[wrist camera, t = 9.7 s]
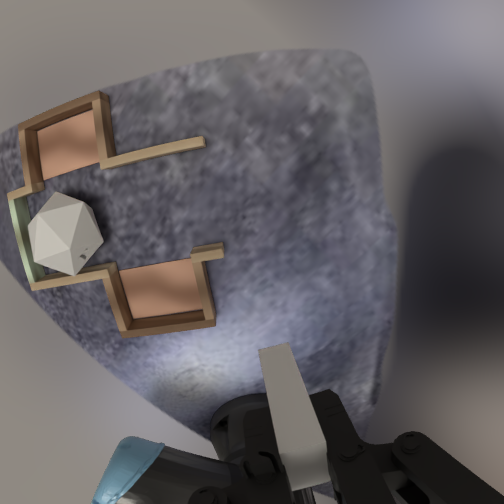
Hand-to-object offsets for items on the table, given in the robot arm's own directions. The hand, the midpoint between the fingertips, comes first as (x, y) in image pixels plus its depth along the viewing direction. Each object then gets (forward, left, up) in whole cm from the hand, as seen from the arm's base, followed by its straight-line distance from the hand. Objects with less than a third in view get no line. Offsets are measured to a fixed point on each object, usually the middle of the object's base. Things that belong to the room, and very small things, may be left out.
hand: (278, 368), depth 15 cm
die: (+7, +20, -23) cm, 31 cm away
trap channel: (+7, +15, -23) cm, 28 cm away
